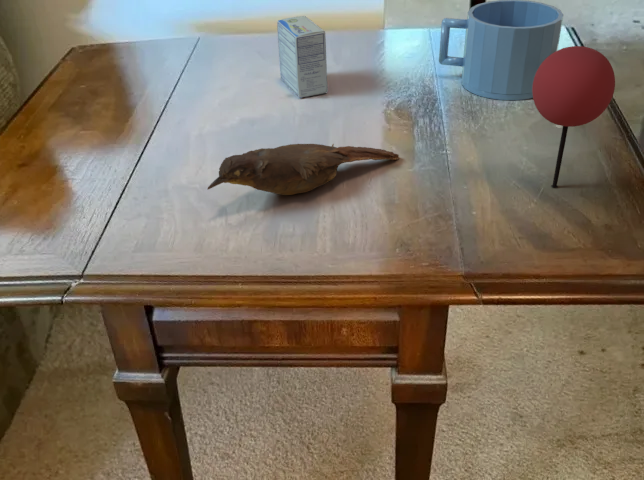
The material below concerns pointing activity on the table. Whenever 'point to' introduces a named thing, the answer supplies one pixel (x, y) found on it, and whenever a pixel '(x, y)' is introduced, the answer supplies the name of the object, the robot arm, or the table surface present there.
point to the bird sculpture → (292, 166)
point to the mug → (503, 46)
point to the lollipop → (572, 90)
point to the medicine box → (302, 56)
